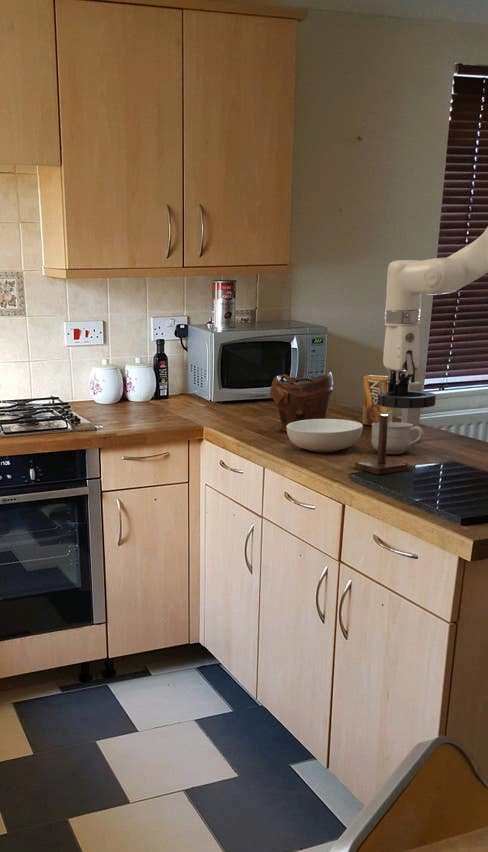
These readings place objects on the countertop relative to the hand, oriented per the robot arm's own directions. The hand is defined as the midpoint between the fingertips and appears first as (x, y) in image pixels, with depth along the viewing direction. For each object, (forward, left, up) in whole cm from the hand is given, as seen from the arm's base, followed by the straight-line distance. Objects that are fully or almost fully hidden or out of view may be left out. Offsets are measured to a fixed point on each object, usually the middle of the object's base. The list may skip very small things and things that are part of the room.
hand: (397, 400), depth 202 cm
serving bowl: (+38, -9, -19) cm, 44 cm away
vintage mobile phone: (+34, -36, -19) cm, 53 cm away
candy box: (+61, -47, -19) cm, 79 cm away
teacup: (+22, -21, -19) cm, 36 cm away
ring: (-5, +1, 0) cm, 5 cm away
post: (+9, -5, -18) cm, 21 cm away
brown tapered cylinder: (+67, -22, -19) cm, 73 cm away
